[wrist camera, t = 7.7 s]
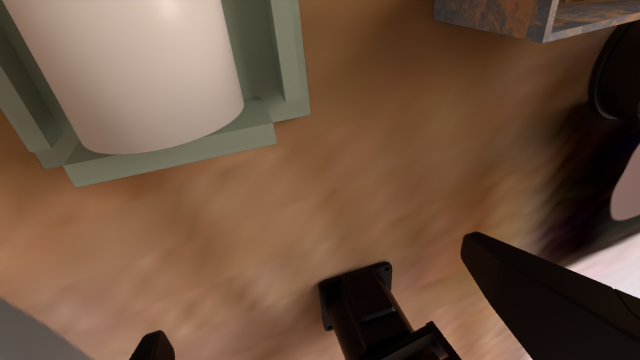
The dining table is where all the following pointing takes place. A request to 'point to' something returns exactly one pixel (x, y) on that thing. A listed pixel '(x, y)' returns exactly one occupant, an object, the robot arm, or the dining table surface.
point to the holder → (239, 135)
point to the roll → (134, 68)
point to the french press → (618, 76)
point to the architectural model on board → (537, 16)
